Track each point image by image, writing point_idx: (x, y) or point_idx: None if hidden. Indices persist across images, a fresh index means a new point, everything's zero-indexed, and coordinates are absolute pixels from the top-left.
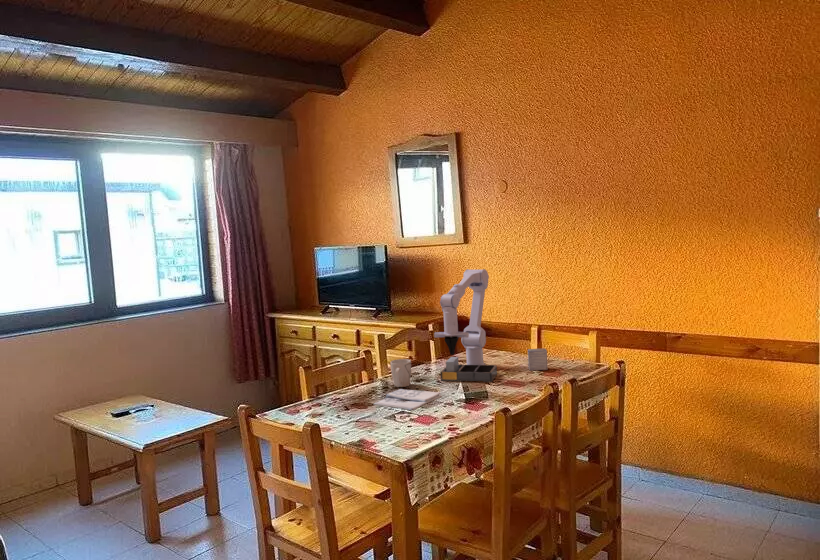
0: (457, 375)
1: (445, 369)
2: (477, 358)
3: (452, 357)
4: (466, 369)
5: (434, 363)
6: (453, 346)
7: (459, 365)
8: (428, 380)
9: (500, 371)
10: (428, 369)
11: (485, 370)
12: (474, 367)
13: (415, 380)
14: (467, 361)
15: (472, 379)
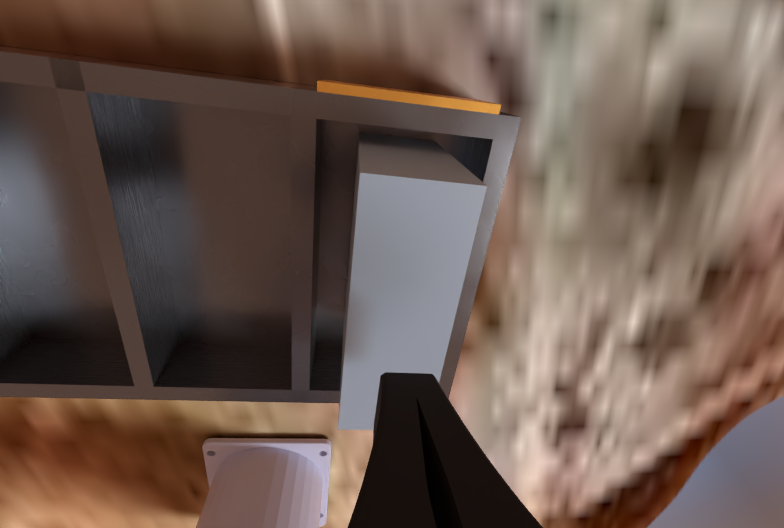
0: (311, 89)
1: None
2: (214, 522)
3: None
4: (284, 361)
5: None
6: (377, 512)
7: None
8: (598, 137)
9: None
10: (565, 424)
11: (112, 350)
12: (205, 372)
13: (710, 141)
14: (307, 499)
15: (141, 64)
